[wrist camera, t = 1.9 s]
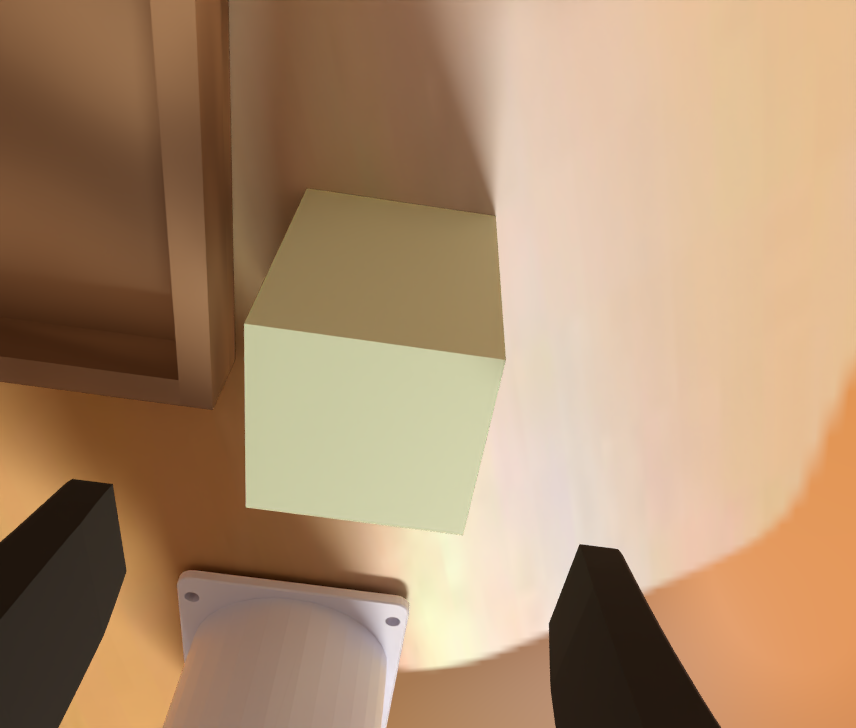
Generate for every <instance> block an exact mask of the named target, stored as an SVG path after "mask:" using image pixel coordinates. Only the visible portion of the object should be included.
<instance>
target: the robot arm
mask: <svg viewBox="0 0 856 728" xmlns="http://www.w3.org/2000/svg"><path fill="white" fill-rule="evenodd" d="M125 574H126V565H125V559H124V552H123V546H122V540H121V534H120V527H119V521H118V515H117V508H116V502H115V496H114V490H113V484H107V483H99V482H91V481H84V480H76V479H72V480H70V481H69V482H67V483H66V484H65V485H63V486H62V487H61V488H60V489H59V490H58V491H57V492H56V493H55V494H53V495H52V496H51V497H50V498H49V499H48V500H47V501H46V502H45V503H44V504H42V505H41V506H40V507H39V508H38V509H37V510H36V511H35V512H34V513H33V514H31V515H30V516H29V517H28V518H27V519H26V520H25V521H24V522H23V523H21V524H20V525H19V526H18V527H17V528H16V529H15V530H14V531H13V532H11V533H10V534H9V535H8V536H7V537H6V538H5V539H3V540H2V541H1V542H0V728H58V727H59V725H60V723H61V721H62V719H63V717H64V715H65V713H66V711H67V709H68V707H69V705H70V703H71V701H72V699H73V697H74V695H75V693H76V691H77V689H78V687H79V685H80V683H81V681H82V679H83V677H84V675H85V673H86V671H87V669H88V667H89V665H90V663H91V661H92V658H93V656H94V654H95V652H96V650H97V648H98V646H99V644H100V642H101V640H102V638H103V636H104V633H105V630H106V628H107V625H108V622H109V620H110V617H111V614H112V611H113V609H114V606H115V603H116V600H117V597H118V594H119V591H120V589H121V586H122V583H123V580H124V577H125ZM177 591H178V602H179V612H180V622H181V633H182V643H183V653H184V663H185V664H184V667H183V670H182V673H181V676H180V679H179V682H178V684H177V687H176V690H175V693H174V696H173V699H172V702H171V705H170V708H169V711H168V714H167V716H166V719H165V722H164V725H163V728H386V726H387V721H388V715H389V710H390V706H391V700H392V696H393V691H394V685H395V681H396V676H397V670H398V665H399V660H400V655H401V650H402V645H403V640H404V635H405V630H406V625H407V620H408V615H409V602H408V601H407V600H406V599H405V598H403V597H402V596H398V595H391V594H382V593H374V592H366V591H358V590H350V589H342V588H334V587H326V586H318V585H310V584H302V583H294V582H286V581H278V580H270V579H262V578H253V577H245V576H237V575H229V574H221V573H213V572H205V571H197V570H188V571H184V572H183V573H182V574H180V577H179V579H178V582H177ZM549 648H550V682H551V683H550V684H551V695H552V703H553V710H554V718H555V725H556V728H721V727H720V725H719V724H718V722H717V721H716V719H715V718H714V716H713V714H712V713H711V711H710V710H709V708H708V707H707V705H706V703H705V702H704V700H703V698H702V697H701V695H700V694H699V692H698V690H697V689H696V687H695V685H694V684H693V682H692V680H691V679H690V677H689V675H688V674H687V672H686V670H685V669H684V667H683V665H682V664H681V662H680V660H679V659H678V657H677V655H676V654H675V652H674V650H673V648H672V647H671V645H670V643H669V641H668V640H667V638H666V636H665V634H664V632H663V631H662V629H661V627H660V625H659V623H658V621H657V620H656V618H655V616H654V614H653V612H652V611H651V609H650V607H649V605H648V603H647V601H646V599H645V597H644V596H643V594H642V592H641V590H640V588H639V586H638V584H637V582H636V580H635V578H634V576H633V574H632V572H631V570H630V569H629V567H628V565H627V563H626V561H625V559H624V557H623V555H622V554H621V552H620V551H619V550H618V549H612V548H605V547H597V546H589V545H581V544H580V545H579V547H578V550H577V552H576V555H575V558H574V560H573V563H572V565H571V568H570V571H569V573H568V576H567V578H566V581H565V583H564V586H563V589H562V591H561V594H560V596H559V599H558V602H557V604H556V607H555V609H554V612H553V615H552V617H551V620H550V622H549Z"/></svg>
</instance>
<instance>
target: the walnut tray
mask: <svg viewBox="0 0 856 728" xmlns="http://www.w3.org/2000/svg"><path fill="white" fill-rule="evenodd" d="M234 361H235V319H234V267H233V215H232V163H231V111H230V59H229V7H228V0H0V382H7V383H14V384H22V385H29V386H37V387H44V388H52V389H59V390H67V391H74V392H82V393H89V394H97V395H104V396H112V397H119V398H127V399H134V400H142V401H149V402H157V403H164V404H172V405H179V406H187V407H194V408H202V409H209V410H213V408H214V406H215V404H216V401H217V399H218V397H219V395H220V393H221V390H222V388H223V386H224V384H225V381H226V379H227V377H228V375H229V372H230V370H231V368H232V366H233V363H234Z"/></svg>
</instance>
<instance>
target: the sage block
mask: <svg viewBox="0 0 856 728" xmlns="http://www.w3.org/2000/svg"><path fill="white" fill-rule="evenodd" d="M505 361H506V357H505V343H504V328H503V314H502V300H501V285H500V271H499V257H498V243H497V228H496V216H493V215H486V214H479V213H472V212H466V211H459V210H452V209H445V208H438V207H432V206H425V205H418V204H411V203H404V202H398V201H391V200H384V199H377V198H371V197H364V196H357V195H350V194H343V193H337V192H330V191H323V190H316V189H309V188H307V189H306V191H305V193H304V195H303V198H302V200H301V202H300V204H299V206H298V208H297V211H296V213H295V215H294V217H293V219H292V221H291V223H290V226H289V228H288V230H287V232H286V234H285V236H284V239H283V241H282V243H281V245H280V247H279V249H278V251H277V254H276V256H275V258H274V260H273V262H272V264H271V267H270V269H269V271H268V273H267V275H266V277H265V279H264V282H263V284H262V286H261V288H260V290H259V292H258V295H257V297H256V299H255V301H254V303H253V305H252V307H251V310H250V312H249V314H248V316H247V318H246V320H245V323H244V375H245V483H246V507H247V508H254V509H262V510H270V511H278V512H285V513H293V514H301V515H309V516H316V517H324V518H332V519H340V520H347V521H355V522H363V523H371V524H378V525H386V526H394V527H402V528H409V529H417V530H425V531H433V532H440V533H448V534H456V535H463V533H464V529H465V525H466V521H467V517H468V513H469V509H470V504H471V500H472V496H473V492H474V488H475V484H476V480H477V476H478V472H479V468H480V463H481V459H482V455H483V451H484V447H485V443H486V439H487V435H488V431H489V427H490V422H491V418H492V414H493V410H494V406H495V402H496V398H497V394H498V390H499V386H500V381H501V377H502V373H503V369H504V365H505Z"/></svg>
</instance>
